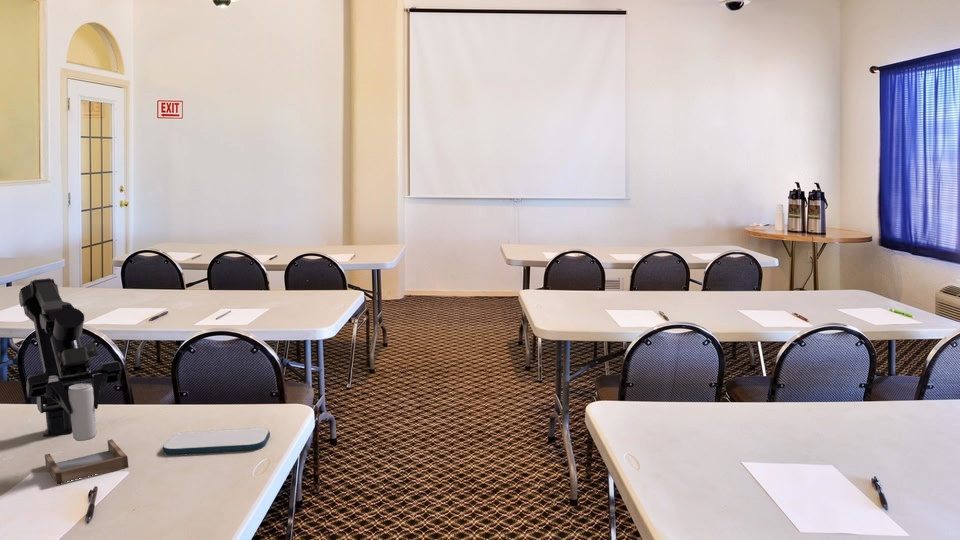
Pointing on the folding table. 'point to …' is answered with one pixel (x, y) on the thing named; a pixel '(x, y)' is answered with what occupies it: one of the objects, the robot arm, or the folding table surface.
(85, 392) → the beverage can
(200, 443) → the external hard drive
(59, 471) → the bay
